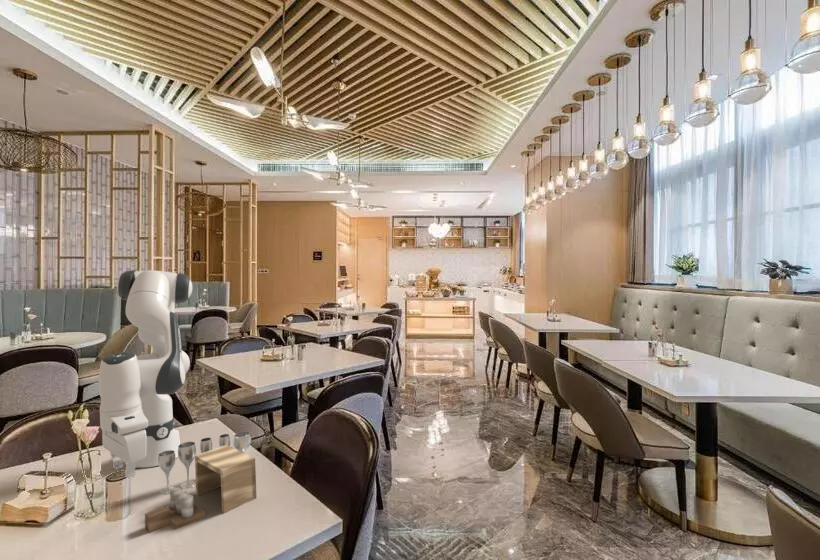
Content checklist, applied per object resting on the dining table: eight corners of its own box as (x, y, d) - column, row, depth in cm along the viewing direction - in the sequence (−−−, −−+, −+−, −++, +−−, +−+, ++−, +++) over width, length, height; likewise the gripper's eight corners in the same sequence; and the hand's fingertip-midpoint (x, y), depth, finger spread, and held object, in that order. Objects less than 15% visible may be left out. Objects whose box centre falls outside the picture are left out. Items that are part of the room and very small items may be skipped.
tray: (139, 523, 117) (138, 500, 117) (187, 503, 126) (186, 482, 126) (155, 538, 110) (155, 514, 110) (204, 516, 119) (204, 494, 119)
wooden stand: (196, 494, 131) (194, 455, 131) (227, 481, 139) (226, 444, 139) (224, 513, 121) (222, 470, 120) (256, 498, 128) (255, 458, 128)
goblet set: (160, 497, 131) (159, 453, 130) (158, 489, 135) (156, 448, 135) (254, 469, 148) (252, 431, 147) (249, 463, 152) (247, 426, 152)
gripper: (93, 413, 113) (96, 466, 113) (121, 429, 100) (123, 488, 100) (121, 407, 118) (123, 457, 118) (150, 422, 105) (153, 478, 105)
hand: (124, 472), depth 109 cm, fingers open, 7 cm apart
